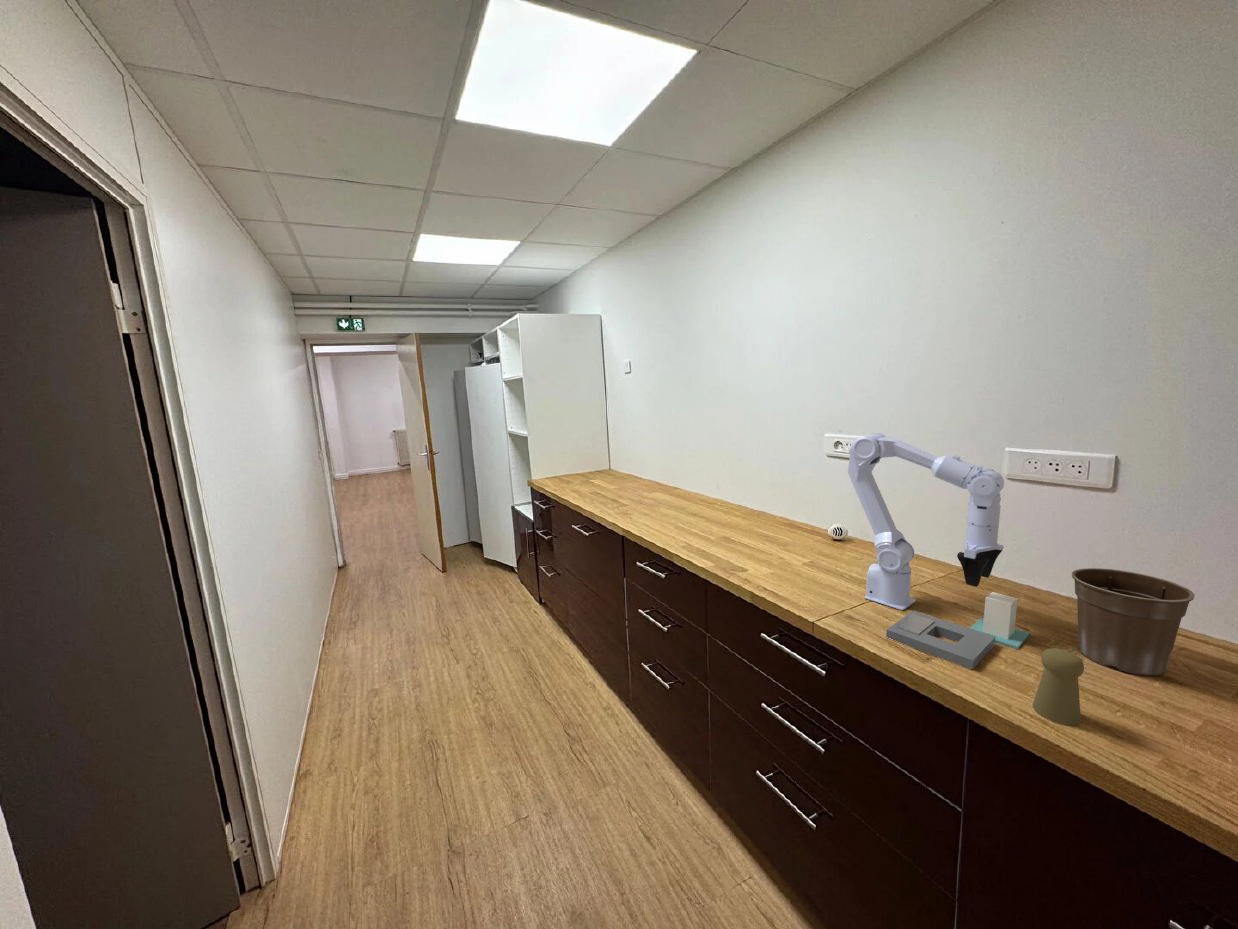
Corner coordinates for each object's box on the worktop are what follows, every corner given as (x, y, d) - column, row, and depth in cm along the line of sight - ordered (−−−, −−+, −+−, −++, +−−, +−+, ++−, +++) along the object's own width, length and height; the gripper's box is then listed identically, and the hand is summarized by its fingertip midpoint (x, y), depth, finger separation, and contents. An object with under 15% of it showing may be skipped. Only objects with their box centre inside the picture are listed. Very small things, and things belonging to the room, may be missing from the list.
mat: (966, 632, 106) (966, 630, 106) (980, 620, 111) (980, 618, 111) (1017, 649, 99) (1017, 647, 98) (1029, 635, 104) (1029, 632, 104)
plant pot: (1042, 638, 102) (1050, 567, 100) (1118, 637, 102) (1128, 566, 99) (1118, 684, 86) (1129, 601, 84) (1209, 683, 86) (1224, 599, 83)
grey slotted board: (886, 638, 105) (886, 628, 104) (912, 618, 113) (913, 609, 113) (972, 670, 92) (973, 659, 92) (994, 645, 100) (995, 635, 100)
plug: (982, 631, 105) (985, 597, 104) (989, 624, 108) (992, 591, 107) (1007, 639, 102) (1011, 604, 100) (1014, 632, 104) (1017, 598, 103)
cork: (1086, 730, 75) (1094, 667, 74) (1036, 718, 78) (1043, 657, 77) (1075, 708, 80) (1082, 649, 79) (1029, 697, 84) (1035, 640, 82)
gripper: (994, 534, 99) (988, 595, 101) (1014, 521, 107) (1008, 577, 109) (955, 527, 104) (950, 585, 106) (977, 515, 113) (972, 569, 115)
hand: (977, 580), depth 108 cm, fingers open, 7 cm apart
